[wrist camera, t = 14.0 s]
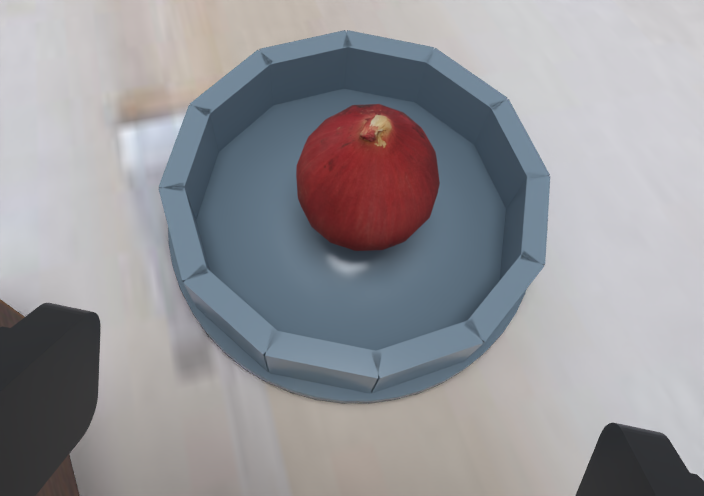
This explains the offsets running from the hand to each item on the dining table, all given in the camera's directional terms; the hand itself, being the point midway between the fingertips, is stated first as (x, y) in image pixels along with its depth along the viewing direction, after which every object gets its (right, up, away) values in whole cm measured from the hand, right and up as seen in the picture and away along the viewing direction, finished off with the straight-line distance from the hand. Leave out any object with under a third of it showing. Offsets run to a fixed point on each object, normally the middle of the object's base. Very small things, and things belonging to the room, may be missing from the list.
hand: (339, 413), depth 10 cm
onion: (+1, +4, +19) cm, 19 cm away
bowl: (0, +4, +20) cm, 20 cm away
